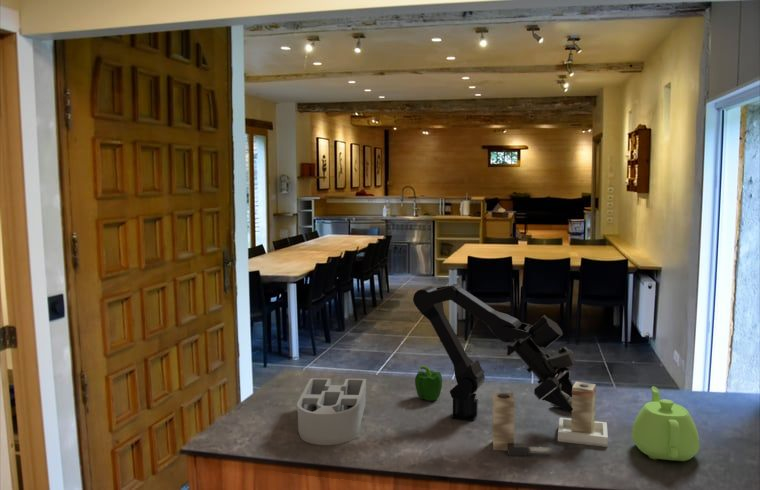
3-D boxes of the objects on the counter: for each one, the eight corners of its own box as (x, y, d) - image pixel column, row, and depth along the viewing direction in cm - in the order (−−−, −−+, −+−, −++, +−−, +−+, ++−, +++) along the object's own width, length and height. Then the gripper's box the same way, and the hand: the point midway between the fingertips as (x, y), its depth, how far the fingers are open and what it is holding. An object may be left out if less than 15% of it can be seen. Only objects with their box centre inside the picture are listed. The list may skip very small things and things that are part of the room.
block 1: (493, 449, 157) (493, 399, 156) (492, 441, 162) (493, 392, 161) (513, 450, 157) (514, 400, 155) (512, 442, 162) (513, 393, 160)
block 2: (570, 435, 164) (572, 387, 162) (574, 428, 168) (575, 381, 167) (591, 439, 161) (592, 390, 160) (594, 432, 166) (595, 384, 164)
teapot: (622, 430, 168) (624, 383, 167) (683, 434, 166) (685, 386, 164) (640, 468, 147) (642, 414, 145) (710, 473, 144) (713, 418, 143)
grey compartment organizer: (366, 407, 188) (366, 378, 187) (356, 447, 160) (356, 414, 159) (311, 406, 189) (310, 378, 188) (291, 446, 161) (291, 413, 160)
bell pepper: (448, 397, 194) (448, 365, 193) (432, 405, 188) (432, 372, 187) (426, 391, 200) (426, 360, 199) (410, 398, 194) (409, 367, 193)
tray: (557, 441, 162) (558, 431, 162) (559, 426, 172) (559, 417, 171) (607, 446, 158) (607, 437, 158) (606, 431, 168) (606, 422, 168)
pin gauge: (508, 455, 154) (508, 447, 154) (507, 451, 156) (507, 443, 156) (552, 456, 153) (552, 447, 153) (550, 452, 156) (550, 443, 155)
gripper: (548, 348, 157) (593, 398, 153) (563, 331, 174) (604, 376, 170) (516, 374, 162) (558, 424, 158) (534, 355, 178) (572, 400, 174)
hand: (575, 404), depth 165 cm, fingers open, 9 cm apart
